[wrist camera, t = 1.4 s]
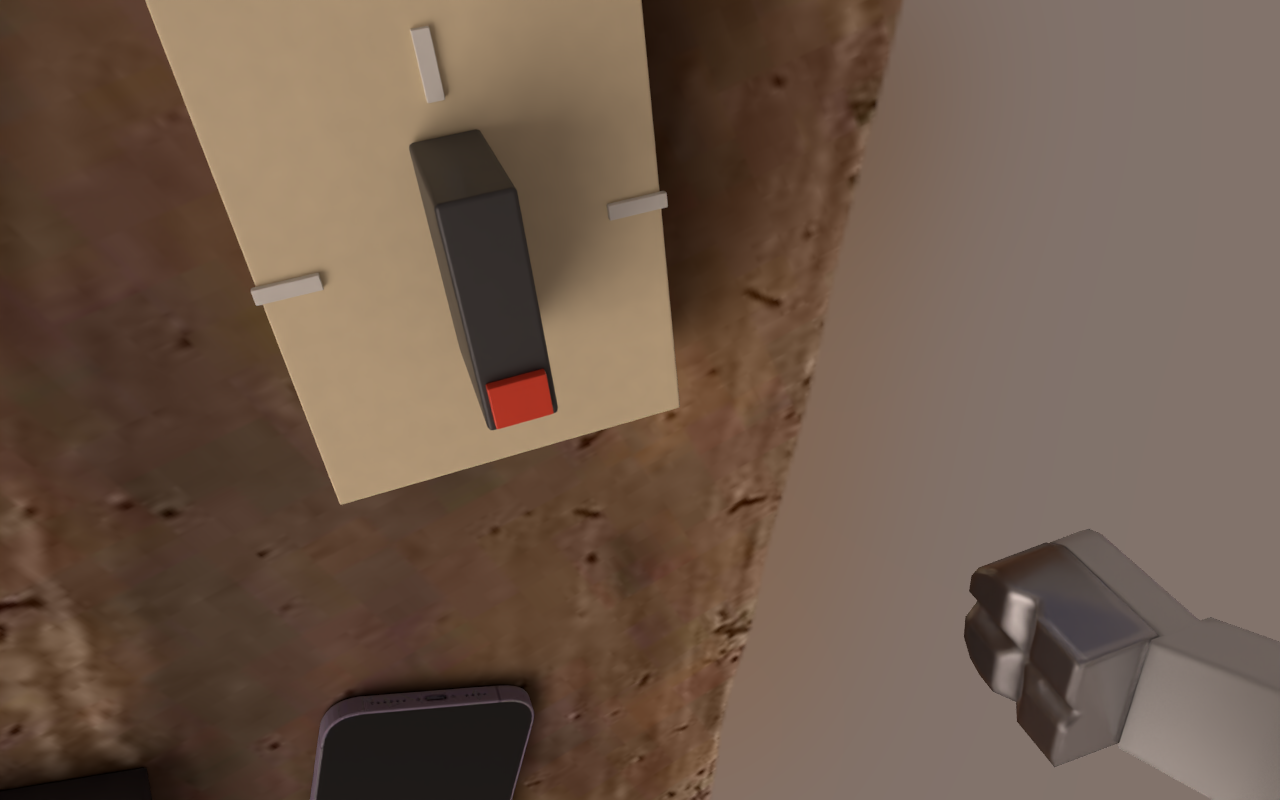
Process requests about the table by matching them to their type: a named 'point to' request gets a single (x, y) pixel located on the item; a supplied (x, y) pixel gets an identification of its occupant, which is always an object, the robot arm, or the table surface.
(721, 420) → the table surface
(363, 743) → the smartphone
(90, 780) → the picture frame
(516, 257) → the black red-tipped block
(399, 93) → the plate
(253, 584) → the table surface
